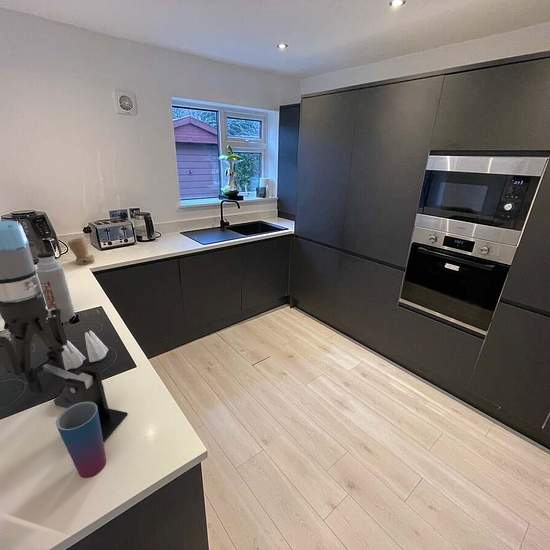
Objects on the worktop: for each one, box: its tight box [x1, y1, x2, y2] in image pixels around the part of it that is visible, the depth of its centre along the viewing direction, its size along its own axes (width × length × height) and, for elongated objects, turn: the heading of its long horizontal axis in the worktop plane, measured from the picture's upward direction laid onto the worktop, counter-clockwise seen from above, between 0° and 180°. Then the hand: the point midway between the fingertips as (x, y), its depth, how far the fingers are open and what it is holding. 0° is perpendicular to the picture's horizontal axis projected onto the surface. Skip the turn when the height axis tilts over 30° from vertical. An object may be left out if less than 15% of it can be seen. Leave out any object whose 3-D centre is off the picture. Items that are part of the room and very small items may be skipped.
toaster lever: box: [34, 357, 93, 388], centre depth 67 cm, size 13×5×2 cm, turn 77°
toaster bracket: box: [64, 366, 129, 444], centre depth 68 cm, size 11×9×16 cm
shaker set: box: [61, 330, 109, 371], centre depth 91 cm, size 12×4×11 cm, turn 119°
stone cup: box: [67, 237, 95, 265], centre depth 179 cm, size 15×12×15 cm
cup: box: [55, 402, 107, 479], centre depth 59 cm, size 7×7×15 cm
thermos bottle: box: [35, 251, 76, 323], centre depth 112 cm, size 8×8×28 cm
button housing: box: [53, 383, 105, 409], centre depth 78 cm, size 8×8×4 cm
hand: (48, 382), depth 69 cm, fingers closed on toaster lever, 5 cm apart
